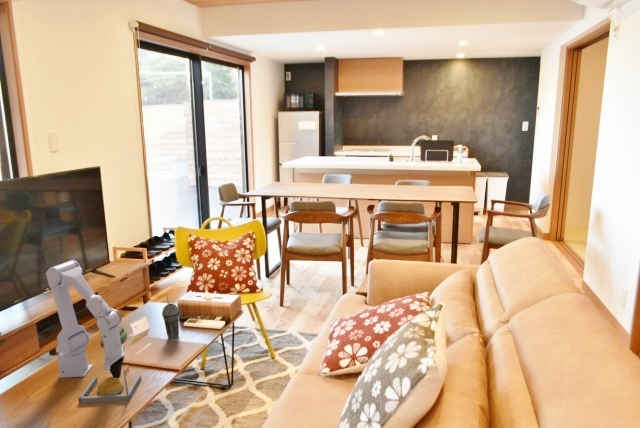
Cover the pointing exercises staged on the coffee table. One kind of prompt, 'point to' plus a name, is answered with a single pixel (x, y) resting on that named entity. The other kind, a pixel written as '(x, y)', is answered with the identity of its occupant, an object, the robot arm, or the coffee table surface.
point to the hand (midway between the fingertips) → (116, 377)
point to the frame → (109, 398)
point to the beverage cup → (171, 320)
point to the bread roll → (110, 386)
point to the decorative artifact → (121, 335)
